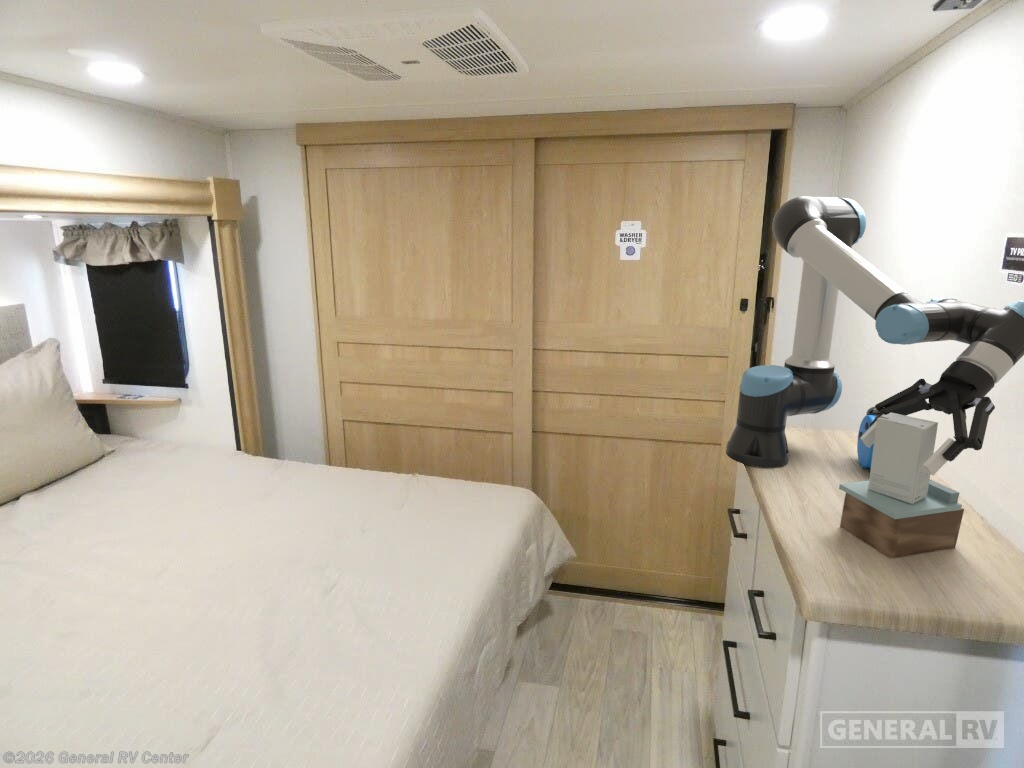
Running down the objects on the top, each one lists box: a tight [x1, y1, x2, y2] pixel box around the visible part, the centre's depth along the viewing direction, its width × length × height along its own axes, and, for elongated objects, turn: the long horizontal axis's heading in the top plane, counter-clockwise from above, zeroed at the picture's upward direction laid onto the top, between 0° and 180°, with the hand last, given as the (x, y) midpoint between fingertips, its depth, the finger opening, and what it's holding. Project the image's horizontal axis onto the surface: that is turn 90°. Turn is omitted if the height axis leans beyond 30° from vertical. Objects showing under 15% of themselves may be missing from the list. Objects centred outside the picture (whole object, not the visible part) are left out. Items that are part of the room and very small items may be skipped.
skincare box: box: [868, 413, 939, 504], centre depth 110 cm, size 8×6×15 cm
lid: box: [838, 479, 963, 519], centre depth 112 cm, size 13×15×3 cm
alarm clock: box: [856, 406, 879, 469], centre depth 146 cm, size 13×6×15 cm, turn 163°
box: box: [839, 492, 965, 559], centre depth 114 cm, size 12×15×8 cm
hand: (894, 455), depth 109 cm, fingers open, 13 cm apart
